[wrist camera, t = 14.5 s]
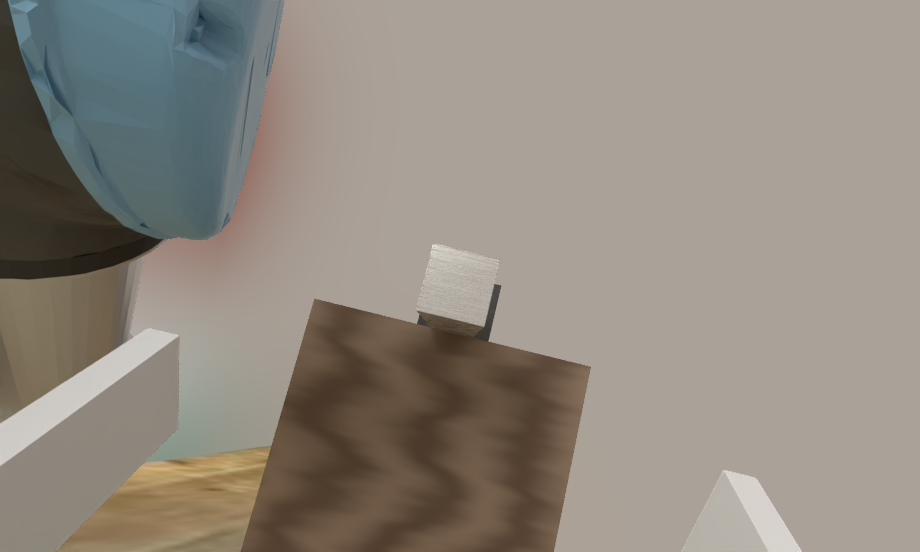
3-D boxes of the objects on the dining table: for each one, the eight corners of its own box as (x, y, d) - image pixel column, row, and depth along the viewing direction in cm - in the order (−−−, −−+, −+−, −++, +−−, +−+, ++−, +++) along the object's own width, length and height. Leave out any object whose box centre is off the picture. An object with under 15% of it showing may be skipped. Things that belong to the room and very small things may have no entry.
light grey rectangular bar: (382, 301, 22) (411, 192, 22) (421, 330, 47) (434, 279, 48) (518, 335, 21) (543, 224, 22) (483, 345, 47) (495, 294, 48)
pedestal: (177, 768, 31) (314, 298, 36) (284, 607, 51) (364, 318, 55) (492, 854, 30) (590, 366, 35) (477, 657, 50) (541, 362, 55)
